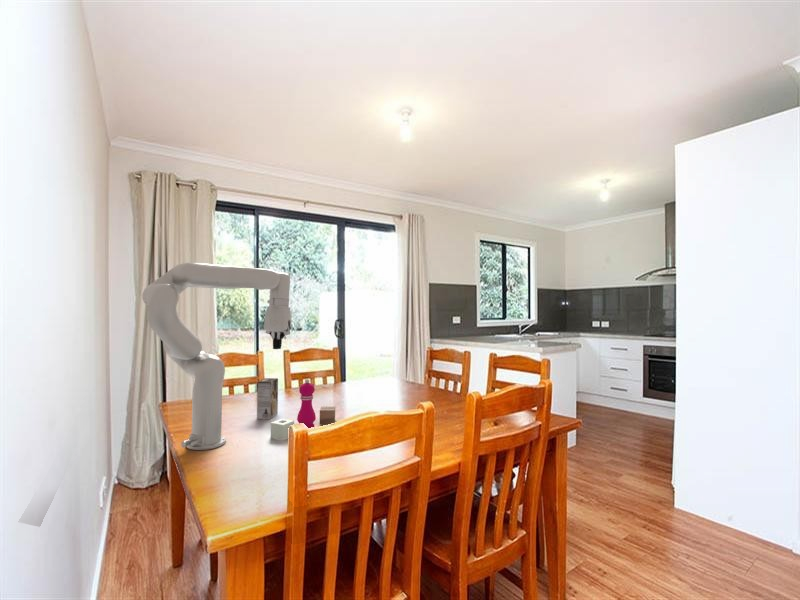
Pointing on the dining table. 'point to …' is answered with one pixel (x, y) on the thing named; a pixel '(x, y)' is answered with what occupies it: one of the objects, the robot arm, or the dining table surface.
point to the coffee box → (267, 398)
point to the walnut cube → (327, 415)
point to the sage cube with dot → (280, 429)
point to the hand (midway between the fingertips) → (276, 348)
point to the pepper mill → (306, 404)
